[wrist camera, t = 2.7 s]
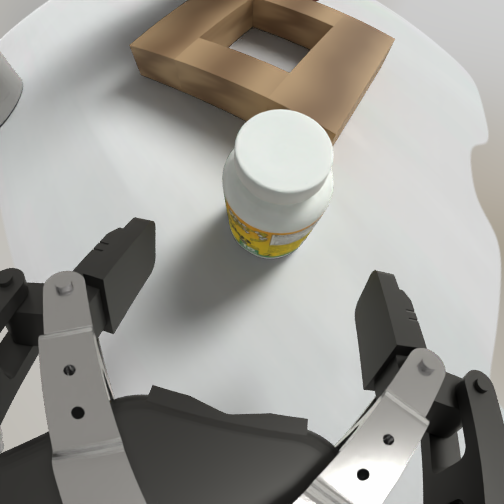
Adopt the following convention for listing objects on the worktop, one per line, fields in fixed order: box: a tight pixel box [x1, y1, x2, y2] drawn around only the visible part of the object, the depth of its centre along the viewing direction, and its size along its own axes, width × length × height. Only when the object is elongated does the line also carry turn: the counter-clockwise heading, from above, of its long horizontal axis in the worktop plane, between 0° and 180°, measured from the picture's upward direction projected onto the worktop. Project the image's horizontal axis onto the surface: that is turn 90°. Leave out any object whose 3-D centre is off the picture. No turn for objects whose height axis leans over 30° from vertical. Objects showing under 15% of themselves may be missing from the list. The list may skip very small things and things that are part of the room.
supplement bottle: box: [222, 109, 334, 259], centre depth 17 cm, size 5×5×10 cm
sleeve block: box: [130, 0, 395, 147], centre depth 22 cm, size 18×14×4 cm
